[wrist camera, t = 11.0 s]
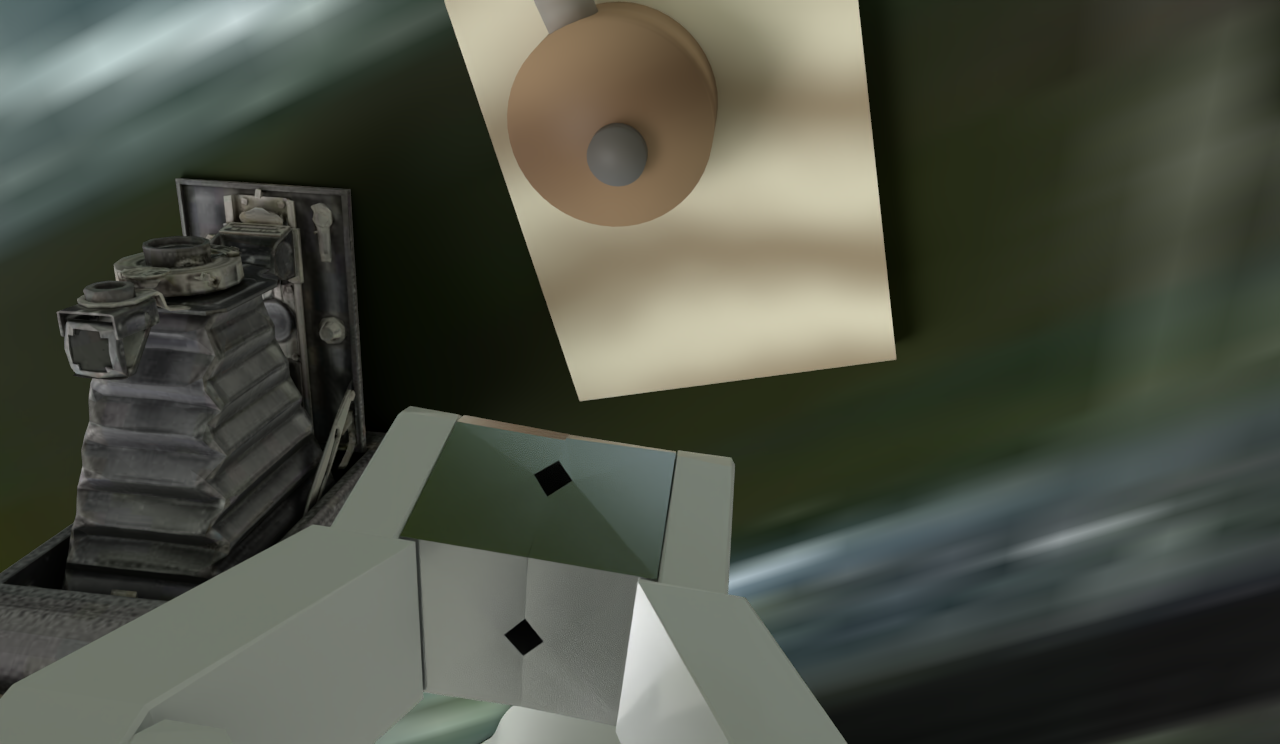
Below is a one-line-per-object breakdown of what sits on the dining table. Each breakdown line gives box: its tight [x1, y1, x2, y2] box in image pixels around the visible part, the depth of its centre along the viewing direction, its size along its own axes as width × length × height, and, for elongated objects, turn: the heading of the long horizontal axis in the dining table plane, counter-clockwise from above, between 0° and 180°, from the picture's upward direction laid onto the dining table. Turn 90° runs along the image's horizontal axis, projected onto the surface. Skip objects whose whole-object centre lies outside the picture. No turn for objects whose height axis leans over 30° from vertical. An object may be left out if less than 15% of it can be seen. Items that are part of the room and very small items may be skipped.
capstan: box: [507, 0, 718, 227], centre depth 29 cm, size 13×7×4 cm, turn 24°
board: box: [444, 0, 896, 401], centre depth 33 cm, size 24×14×2 cm, turn 14°
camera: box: [0, 178, 387, 699], centre depth 34 cm, size 11×17×20 cm, turn 177°
